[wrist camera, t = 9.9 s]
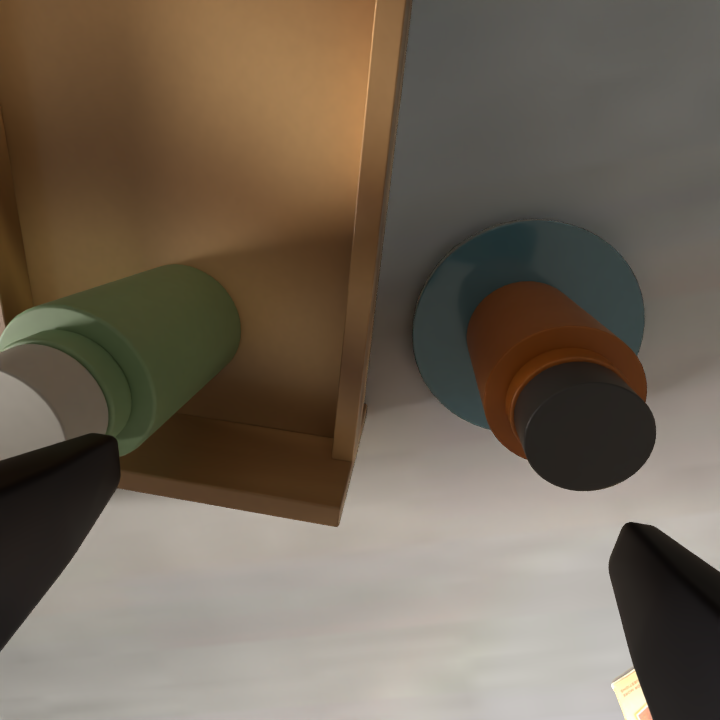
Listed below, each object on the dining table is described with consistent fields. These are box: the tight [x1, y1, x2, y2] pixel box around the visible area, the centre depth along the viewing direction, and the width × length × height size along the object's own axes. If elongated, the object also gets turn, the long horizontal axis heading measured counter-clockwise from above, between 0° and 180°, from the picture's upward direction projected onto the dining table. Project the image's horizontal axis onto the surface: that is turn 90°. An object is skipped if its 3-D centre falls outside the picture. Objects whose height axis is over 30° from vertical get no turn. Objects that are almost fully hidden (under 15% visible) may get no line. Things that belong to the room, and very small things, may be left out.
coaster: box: [412, 219, 644, 430], centre depth 19 cm, size 9×9×1 cm
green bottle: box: [0, 264, 241, 460], centre depth 14 cm, size 4×4×8 cm
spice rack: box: [0, 0, 413, 527], centre depth 16 cm, size 19×14×8 cm
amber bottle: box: [467, 281, 656, 491], centre depth 15 cm, size 4×4×8 cm
